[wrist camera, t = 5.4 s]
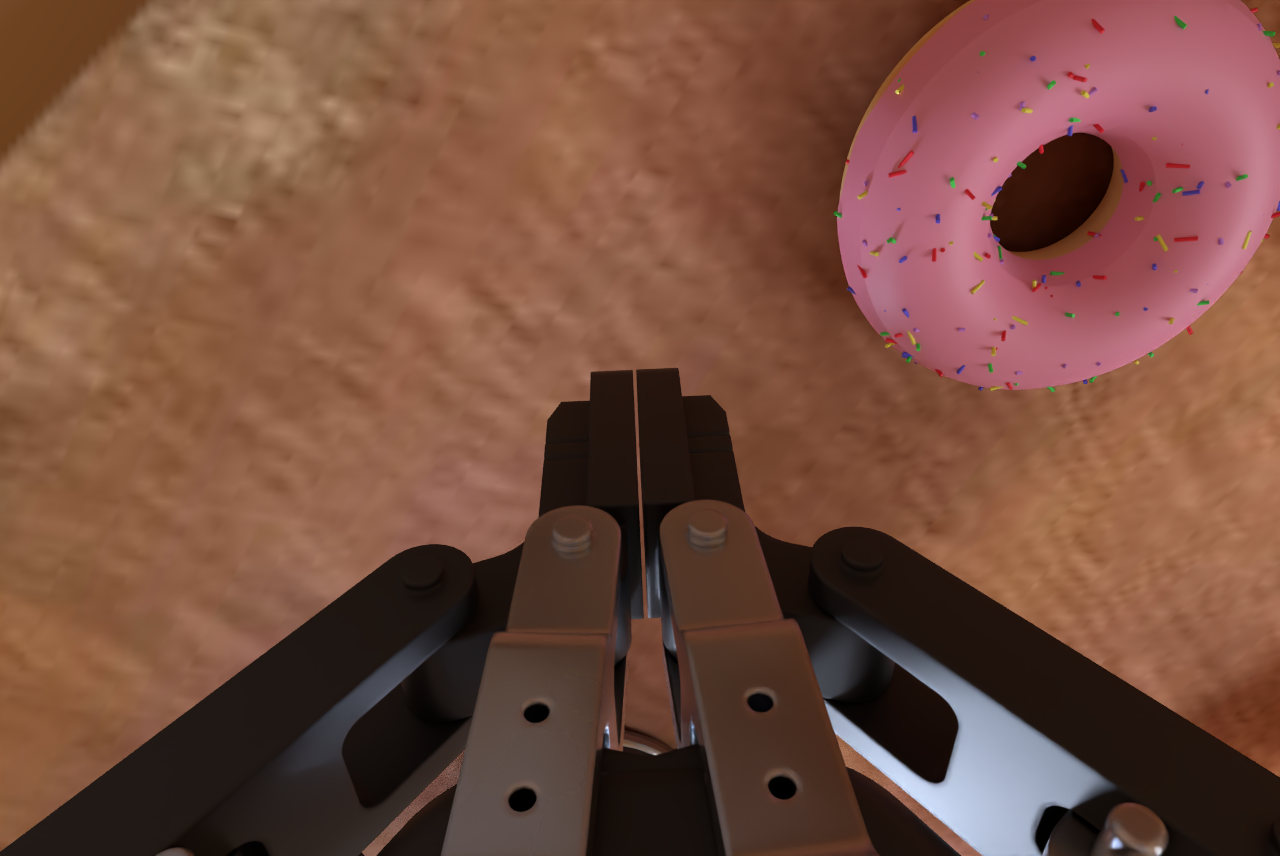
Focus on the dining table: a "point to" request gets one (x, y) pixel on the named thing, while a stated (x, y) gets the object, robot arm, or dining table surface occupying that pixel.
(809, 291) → the dining table surface
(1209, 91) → the doughnut
